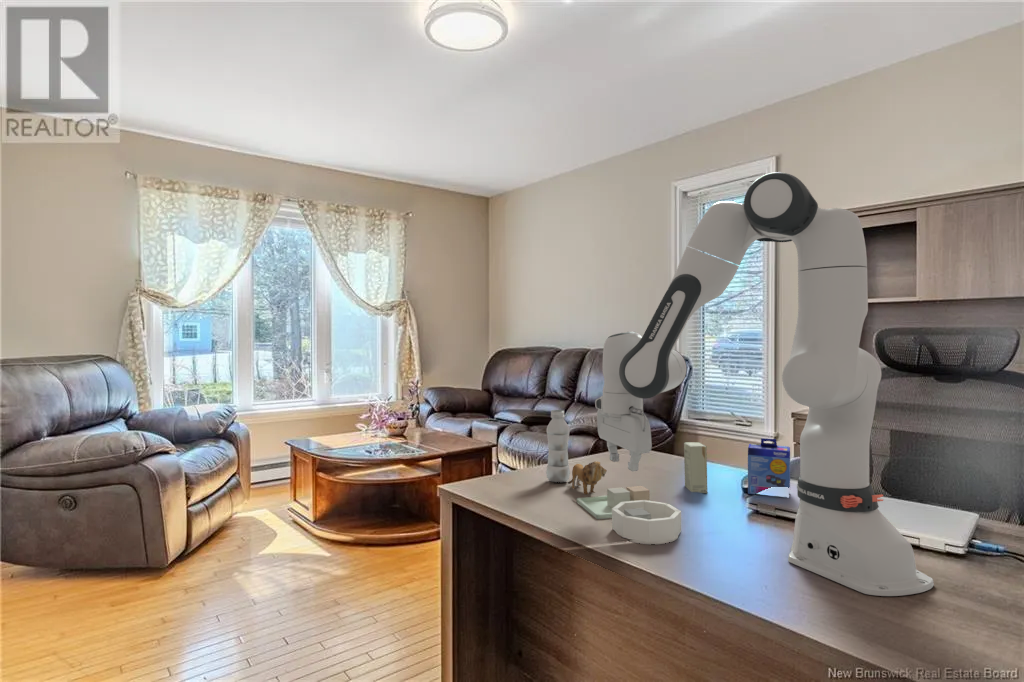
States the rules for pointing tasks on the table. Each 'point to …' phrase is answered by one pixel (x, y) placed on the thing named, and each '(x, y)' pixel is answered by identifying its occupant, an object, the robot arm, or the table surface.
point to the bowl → (647, 522)
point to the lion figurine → (587, 475)
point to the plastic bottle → (558, 448)
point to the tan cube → (638, 493)
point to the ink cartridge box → (768, 466)
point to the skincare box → (695, 466)
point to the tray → (596, 506)
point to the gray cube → (637, 513)
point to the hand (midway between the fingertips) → (623, 465)
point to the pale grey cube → (617, 496)
